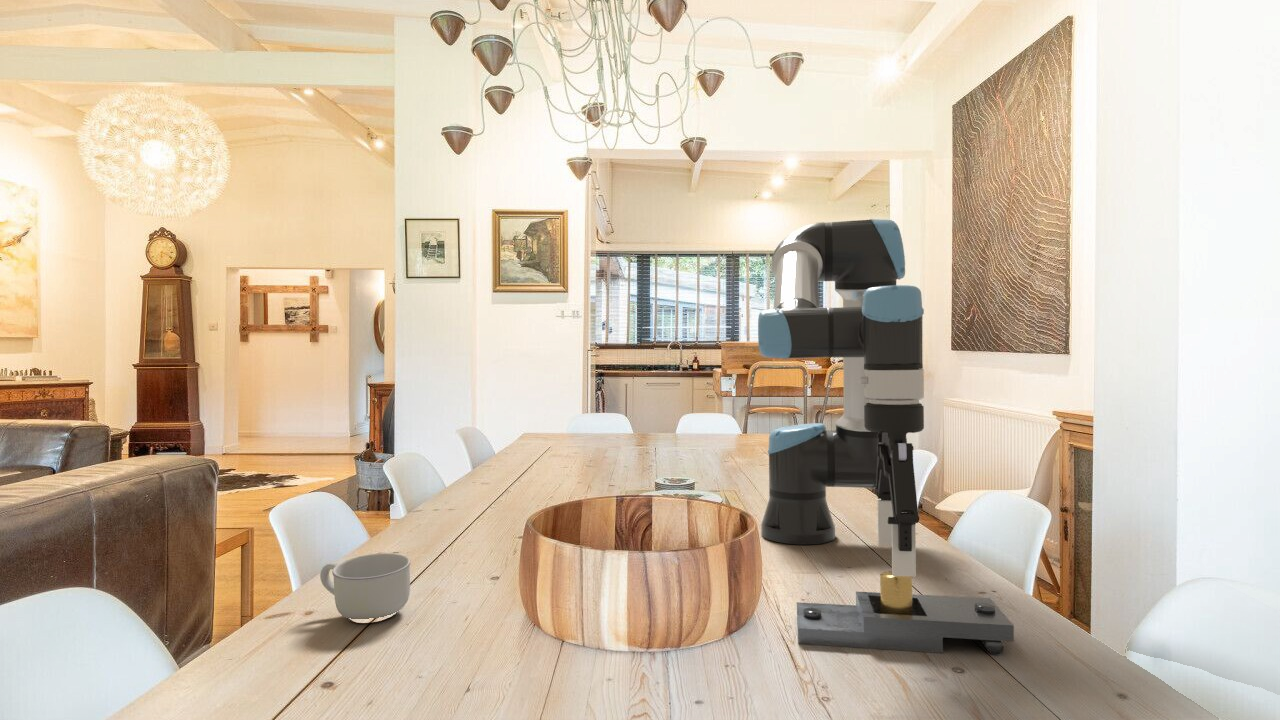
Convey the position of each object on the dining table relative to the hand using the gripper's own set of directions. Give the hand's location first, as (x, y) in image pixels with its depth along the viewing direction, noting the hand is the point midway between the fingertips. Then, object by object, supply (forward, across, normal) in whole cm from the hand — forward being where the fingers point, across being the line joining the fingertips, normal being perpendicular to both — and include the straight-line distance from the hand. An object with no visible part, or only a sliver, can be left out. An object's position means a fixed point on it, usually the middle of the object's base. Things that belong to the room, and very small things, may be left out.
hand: (895, 559), depth 94 cm
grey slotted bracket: (+10, 0, 0) cm, 10 cm away
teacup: (+10, +5, -76) cm, 77 cm away
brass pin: (+10, 0, 0) cm, 10 cm away
